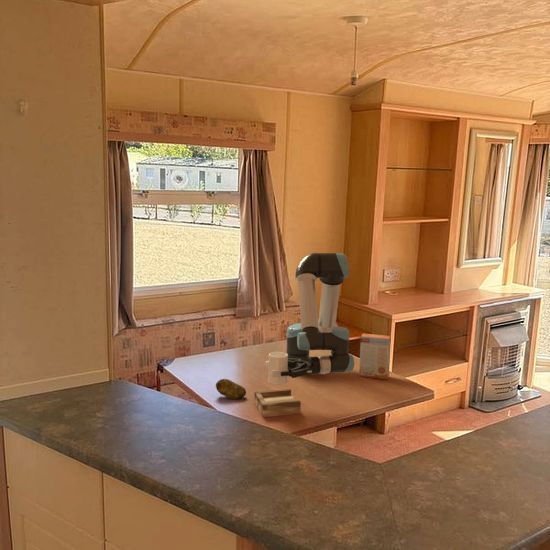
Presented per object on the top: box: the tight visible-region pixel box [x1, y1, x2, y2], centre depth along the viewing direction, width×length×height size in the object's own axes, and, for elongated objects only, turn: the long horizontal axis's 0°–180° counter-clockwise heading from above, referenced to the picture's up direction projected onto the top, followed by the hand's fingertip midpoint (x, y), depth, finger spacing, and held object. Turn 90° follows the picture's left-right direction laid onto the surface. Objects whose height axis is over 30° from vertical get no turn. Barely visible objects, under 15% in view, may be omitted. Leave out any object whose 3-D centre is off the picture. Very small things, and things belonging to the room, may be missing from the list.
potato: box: [215, 378, 247, 400], centre depth 249 cm, size 8×13×8 cm, turn 68°
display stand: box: [254, 388, 302, 418], centre depth 239 cm, size 15×16×5 cm
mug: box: [267, 351, 289, 386], centre depth 236 cm, size 12×8×12 cm
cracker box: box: [358, 332, 392, 381], centre depth 277 cm, size 14×6×21 cm, turn 71°
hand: (268, 369), depth 235 cm, fingers closed on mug, 11 cm apart
